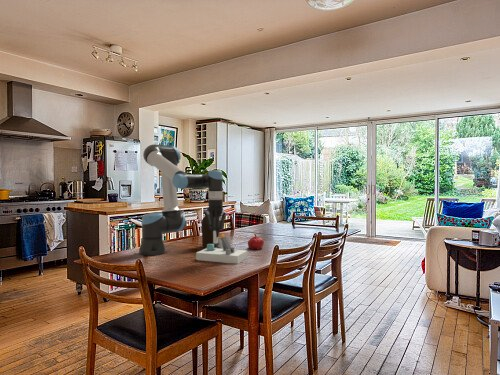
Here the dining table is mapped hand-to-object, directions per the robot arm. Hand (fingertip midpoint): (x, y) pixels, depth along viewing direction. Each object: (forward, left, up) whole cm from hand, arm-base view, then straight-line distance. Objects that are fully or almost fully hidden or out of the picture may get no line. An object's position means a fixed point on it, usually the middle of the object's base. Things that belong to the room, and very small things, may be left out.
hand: (215, 243), depth 182 cm
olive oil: (-20, +32, -9) cm, 39 cm away
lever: (+8, 0, -4) cm, 9 cm away
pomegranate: (+10, +36, -9) cm, 39 cm away
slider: (+3, +7, -5) cm, 9 cm away
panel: (+2, +3, -9) cm, 10 cm away
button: (-6, +5, -7) cm, 10 cm away
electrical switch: (-5, +20, -9) cm, 23 cm away
